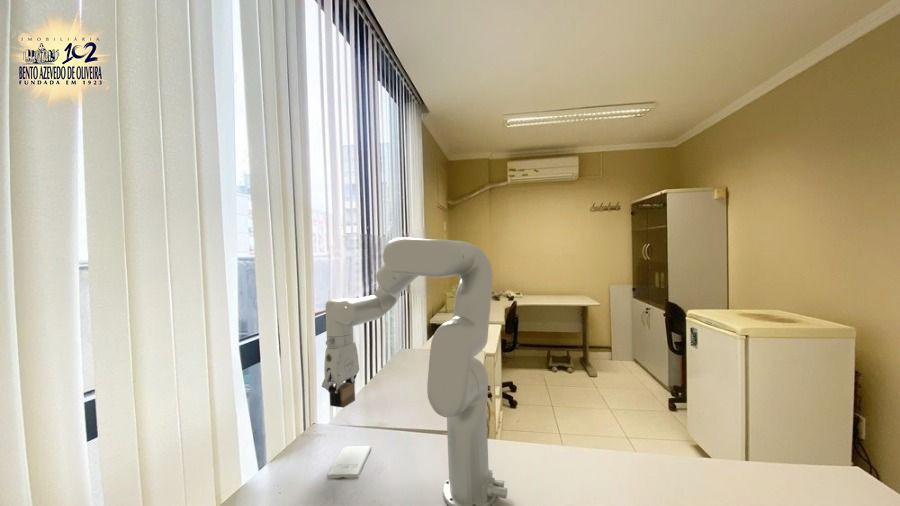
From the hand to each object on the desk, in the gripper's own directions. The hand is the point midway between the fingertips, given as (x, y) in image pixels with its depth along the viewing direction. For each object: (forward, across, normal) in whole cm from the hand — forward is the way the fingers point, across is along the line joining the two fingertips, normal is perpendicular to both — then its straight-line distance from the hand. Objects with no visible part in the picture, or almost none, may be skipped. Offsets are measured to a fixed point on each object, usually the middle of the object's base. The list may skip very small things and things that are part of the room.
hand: (342, 401), depth 94 cm
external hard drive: (+16, -3, -5) cm, 17 cm away
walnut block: (+1, 0, 0) cm, 1 cm away
